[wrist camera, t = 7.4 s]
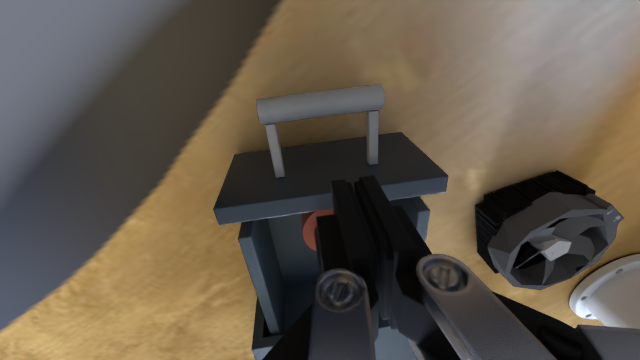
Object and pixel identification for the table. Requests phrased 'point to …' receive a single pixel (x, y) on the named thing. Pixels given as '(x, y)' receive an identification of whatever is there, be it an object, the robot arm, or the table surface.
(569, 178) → the cpu cooler
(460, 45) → the table surface
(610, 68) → the table surface
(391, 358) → the cabinet
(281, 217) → the drawer
